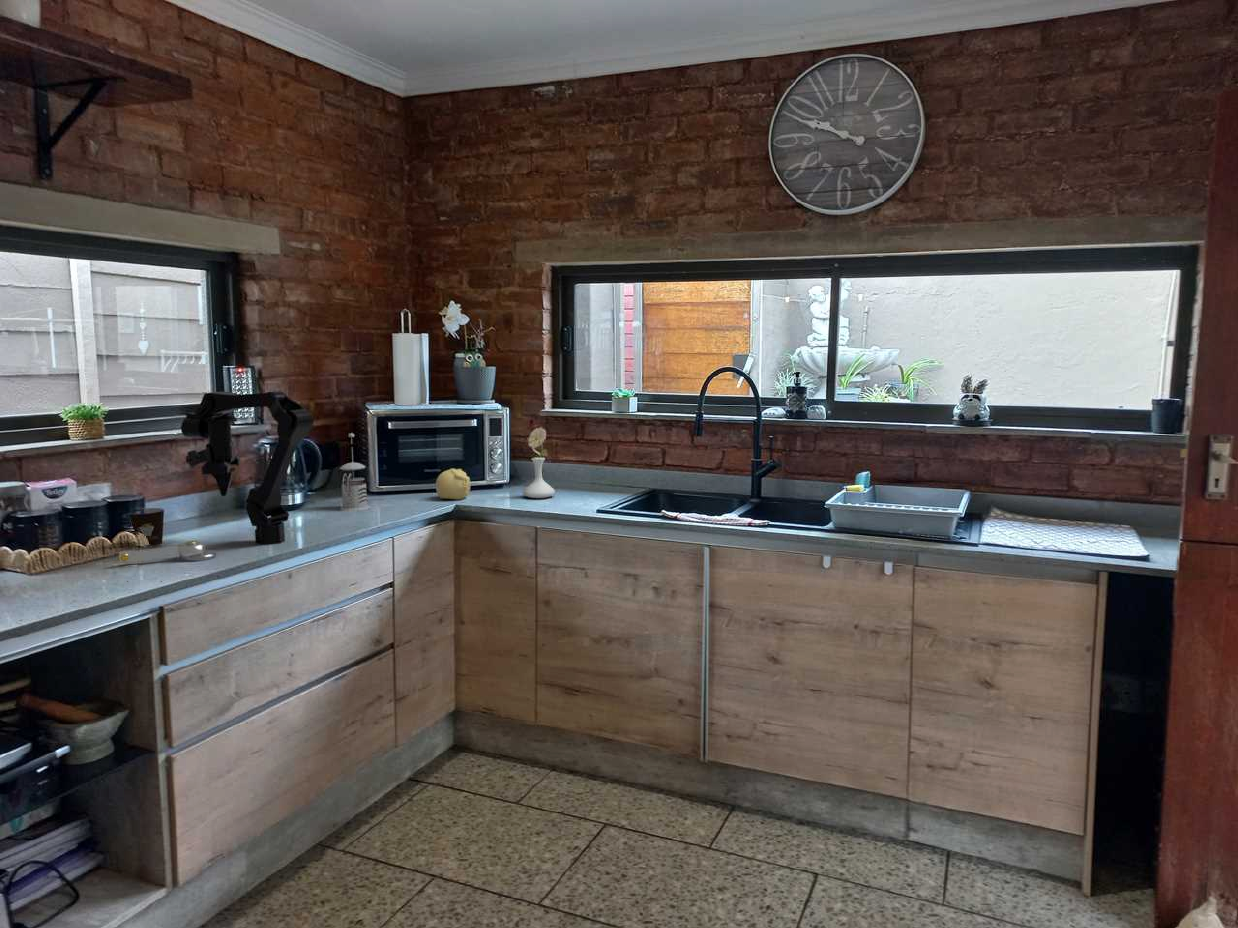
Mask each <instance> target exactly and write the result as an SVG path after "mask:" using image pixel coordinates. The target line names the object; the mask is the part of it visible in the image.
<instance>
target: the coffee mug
mask: <svg viewBox="0 0 1238 928" xmlns="http://www.w3.org/2000/svg"><path fill="white" fill-rule="evenodd" d="M144 511H145V514H130V518H131V521H132V526H133V529H134V530H135V531H138V532H140V533H142V534H144V536H146V538H147V539H148V541H149V544H150V545H149V546H148V547H152V546H158V545H161V544H163V537H164V534H163V533H164V519H165V518H164V517H165V509H164V508H163V507H148V508H147V507H146V508H145V510H144Z"/></svg>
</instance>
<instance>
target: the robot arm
mask: <svg viewBox="0 0 1238 928" xmlns="http://www.w3.org/2000/svg"><path fill="white" fill-rule="evenodd" d="M261 407H262V408H263V407H265V408H268V409H269V412H270V415H271V417H272V418H273V419H274V421H275V422H276V423H277V426H276V432H277V436H278V440H277V442H276V445H275V448H274V450H273V452H272V455H271V458H270V461H269V462H268V466H267V468H266V472H265V473H264V477H263V478H262V482H261V484H260V485H259V486H256V487H252V488H250V489H249V491H248V496H247V498H246V499H245V500H244V502H245V503H246V504H245V510H246V513H247V515H248V518H249V521H250V524H251V526H252V527H256V529H254V539H255V540H254V541H255V544H257V545H258V544H259V545H266V546H267V545H269V546H270V545H277V544H278V545H279V544H282V543H284V542H285V541H286V536H285V535H286V534H285V533H286V532H285V522H288V520H289V517H290V513H289V512H288V511H287V510H286V509H285V507H284V506H283V505H282V494H281V488H282V486H283V483H284V481H285V478H286V475H287V472H288V470H289V467H290V465H291V462H292V460H293V457H294V455H295V453H296V451H297V447H298V445H299V444H300V443H301V441H302V440H304V438H305V437H306V436H308V434H309V433H310V430H311V429H312V427H313V425H314V423H315V419H314V418H313V415H312V414H311V412H310V411H309V410H307V409H305V408H304V407H303V405H301V404H300V403H298V402H296V401H294V399H292V398H289V397H288V396H287V394H286V393H285V392H282V391H281V390H275V391H268V392H259V393H258V392H257V393H246V394H245V393H244V394H241V393H235V392H230V391H215V392H214V391H213V392H212V391H211V392H206V393H204V394H203V396H202V399H201V402H200V403H199V404H198V407H197V409H196V411H195V412H187V413H185V416H186V417H184V419H183V420H182V422H181V425H180V430H181V433H182V435H183V436H184V437H186V438H189V439H208V442H207V443H206V444H205V449H201V450H199V451H197V450H196V449H193V450H190V451H187V455H186V456H185V459H186V460H185V462H186V464H187V463H188V465H189V467H190V468H193V467H196V466H198V465H199V464H202V463H204V464H203V465H202V466H201V474H202V475H210V476H212V477H213V478H214V479H215V482H216V484H217V487H218V489H219V493H220V495H221V497H226V496H227V494H228V492H229V490H230V486H231V484H232V481H233V478H234V476H235V473H236V470H237V468H236V467H235V468H233V467H232V465H233V466H234V465H235V466H237V467H238V466H241V457H240V456H238V455H237V454H234V453H233V446H234V441H233V439H232V427H231V426H232V425H231V423H233V422H237V421H238V418H237V417H235V416H233V414H232V412H234V411H238V410H239V409H247V408H249V409H250V408H261ZM205 462H206V463H205Z"/></svg>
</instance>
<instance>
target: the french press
mask: <svg viewBox="0 0 1238 928" xmlns="http://www.w3.org/2000/svg"><path fill="white" fill-rule="evenodd" d="M354 437H355V434H354V433H353V432H351V433H348V438H351V439H350V441H351V443H353V438H354ZM351 459H352V461H351V462H347V463H345V464H343V465H342V466H341V467H339V469H340V470H341V471H352V473H349V474H347V473H344V474H343V479H342V480H341V481H342V484H341V497H342V498H341V500H342V506H341V507H339V511H344V512H358V511H357V510H360V511H365V510H364V509H366V510H369V509H370V508H371V506H369V505H368V502H367V501H368V498H367V496H368V495H367V483H366V482H364V481H365V478H364V477H354V476H355V475H354V471H359V470H364V469H366V466H365V465H364V464H362V463H359V462H354V451H353V448H351ZM347 475H348V476H347ZM368 508H369V509H368Z"/></svg>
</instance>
